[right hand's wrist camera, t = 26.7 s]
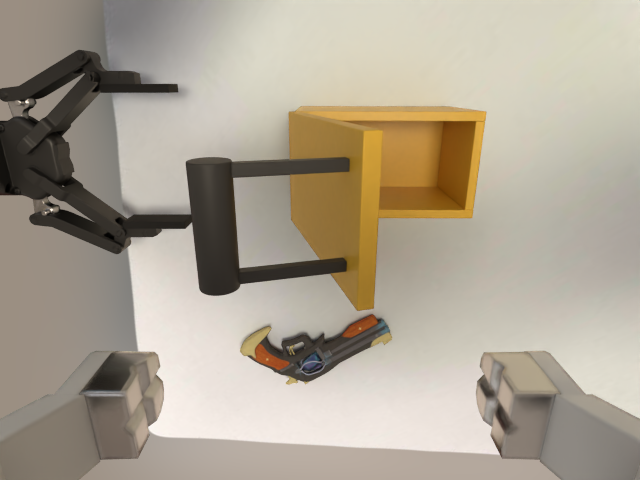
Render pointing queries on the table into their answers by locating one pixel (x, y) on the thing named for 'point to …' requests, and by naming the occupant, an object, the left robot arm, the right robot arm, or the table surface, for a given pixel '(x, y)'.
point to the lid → (298, 208)
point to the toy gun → (330, 352)
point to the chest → (421, 157)
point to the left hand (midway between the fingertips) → (182, 158)
